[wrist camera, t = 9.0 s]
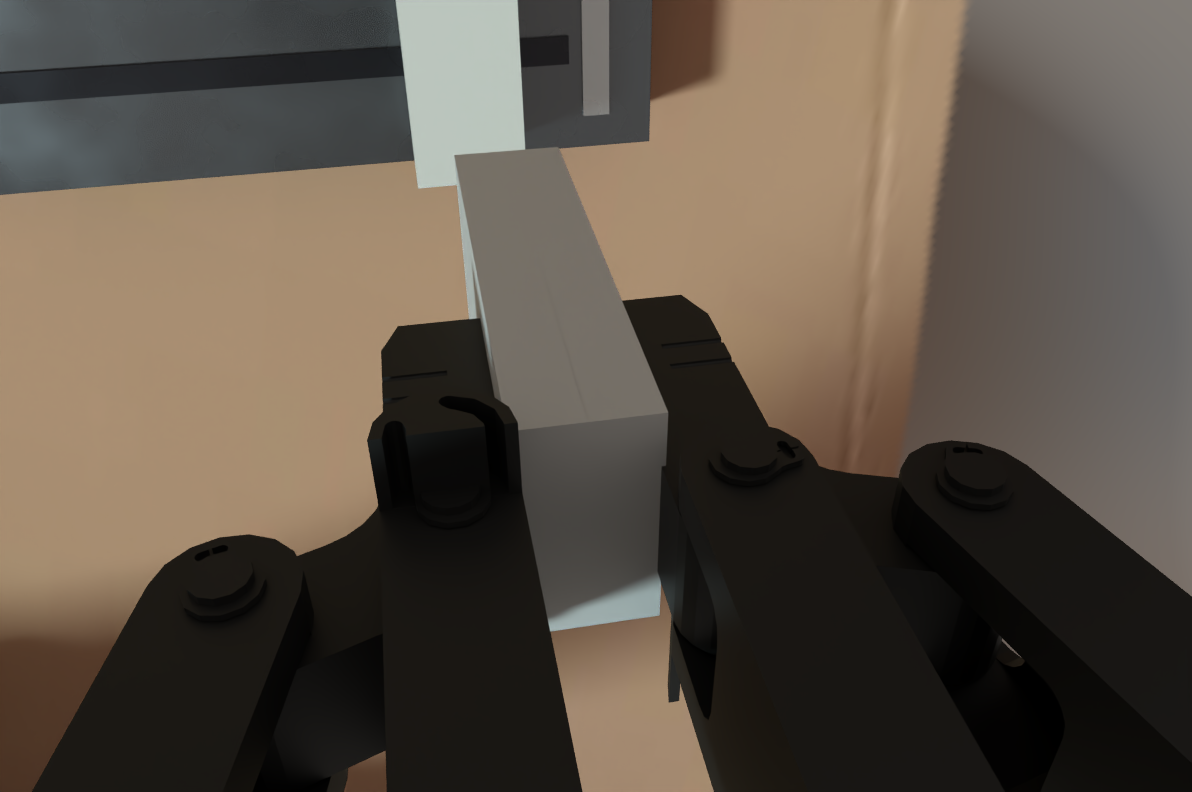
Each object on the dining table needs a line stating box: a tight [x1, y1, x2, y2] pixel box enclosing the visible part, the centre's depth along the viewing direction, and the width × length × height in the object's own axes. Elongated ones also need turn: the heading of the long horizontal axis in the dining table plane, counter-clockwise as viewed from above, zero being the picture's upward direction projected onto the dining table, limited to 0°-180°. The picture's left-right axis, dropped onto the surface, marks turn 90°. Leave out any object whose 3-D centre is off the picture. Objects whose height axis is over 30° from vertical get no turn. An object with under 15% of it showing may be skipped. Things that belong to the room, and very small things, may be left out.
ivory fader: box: [396, 0, 525, 188], centre depth 28 cm, size 3×5×3 cm, turn 0°
